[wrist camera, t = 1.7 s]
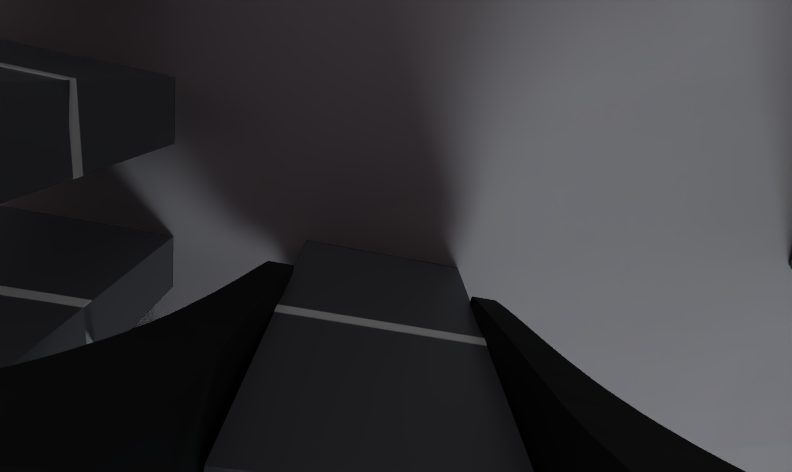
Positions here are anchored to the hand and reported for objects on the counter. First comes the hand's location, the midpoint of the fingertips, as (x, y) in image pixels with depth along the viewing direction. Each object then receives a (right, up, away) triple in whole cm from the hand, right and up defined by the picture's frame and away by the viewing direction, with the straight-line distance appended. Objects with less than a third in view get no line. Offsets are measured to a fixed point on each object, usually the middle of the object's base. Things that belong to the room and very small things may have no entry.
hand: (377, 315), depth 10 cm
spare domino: (0, +1, +2) cm, 2 cm away
